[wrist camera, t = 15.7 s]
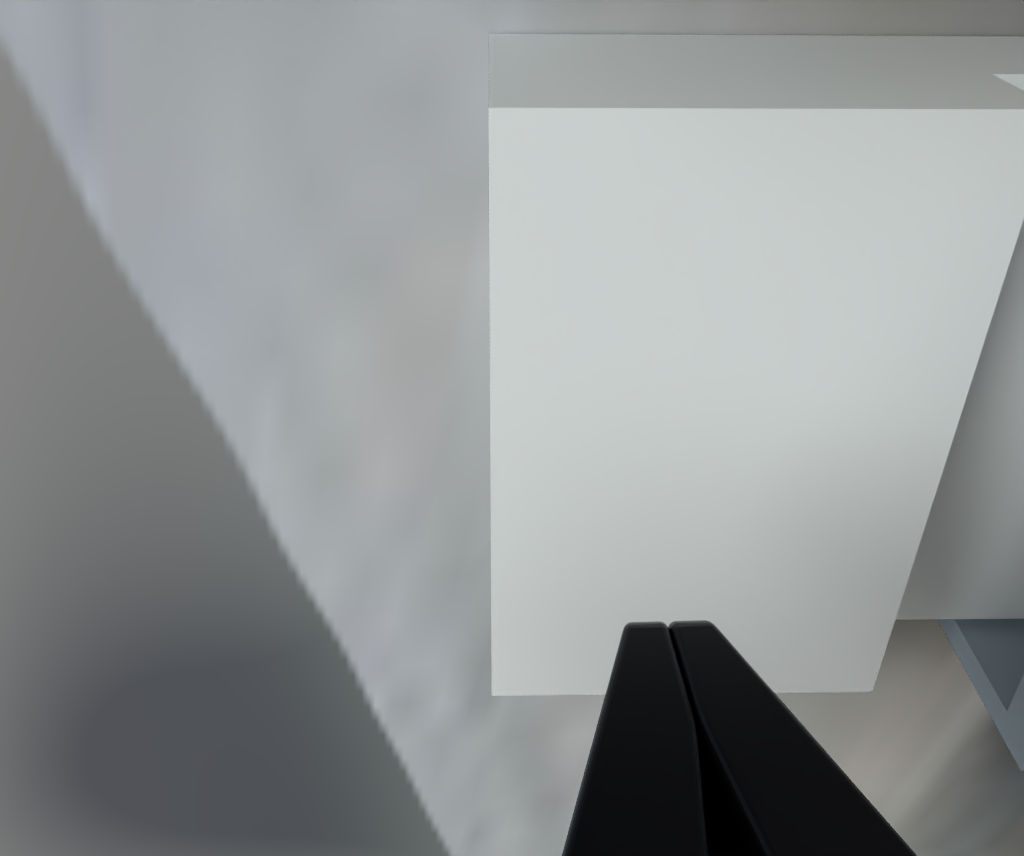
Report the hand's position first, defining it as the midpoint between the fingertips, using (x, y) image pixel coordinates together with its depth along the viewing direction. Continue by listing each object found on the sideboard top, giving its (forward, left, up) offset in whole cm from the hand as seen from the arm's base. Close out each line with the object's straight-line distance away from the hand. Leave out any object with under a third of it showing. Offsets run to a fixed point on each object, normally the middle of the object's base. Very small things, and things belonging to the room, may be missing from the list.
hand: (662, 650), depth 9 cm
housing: (+3, +8, -12) cm, 15 cm away
